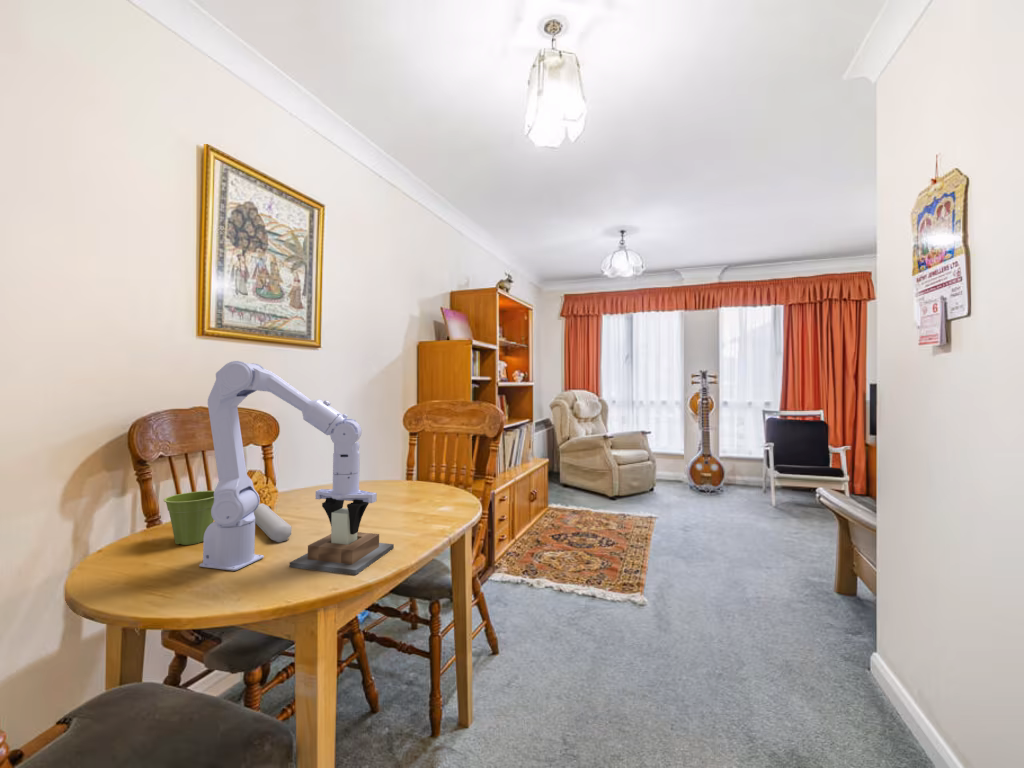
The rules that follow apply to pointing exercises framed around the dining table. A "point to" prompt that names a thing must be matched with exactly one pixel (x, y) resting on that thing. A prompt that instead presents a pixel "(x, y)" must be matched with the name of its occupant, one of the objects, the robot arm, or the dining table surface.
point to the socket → (343, 554)
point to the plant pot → (190, 515)
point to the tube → (272, 524)
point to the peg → (341, 527)
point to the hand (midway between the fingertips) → (345, 532)
